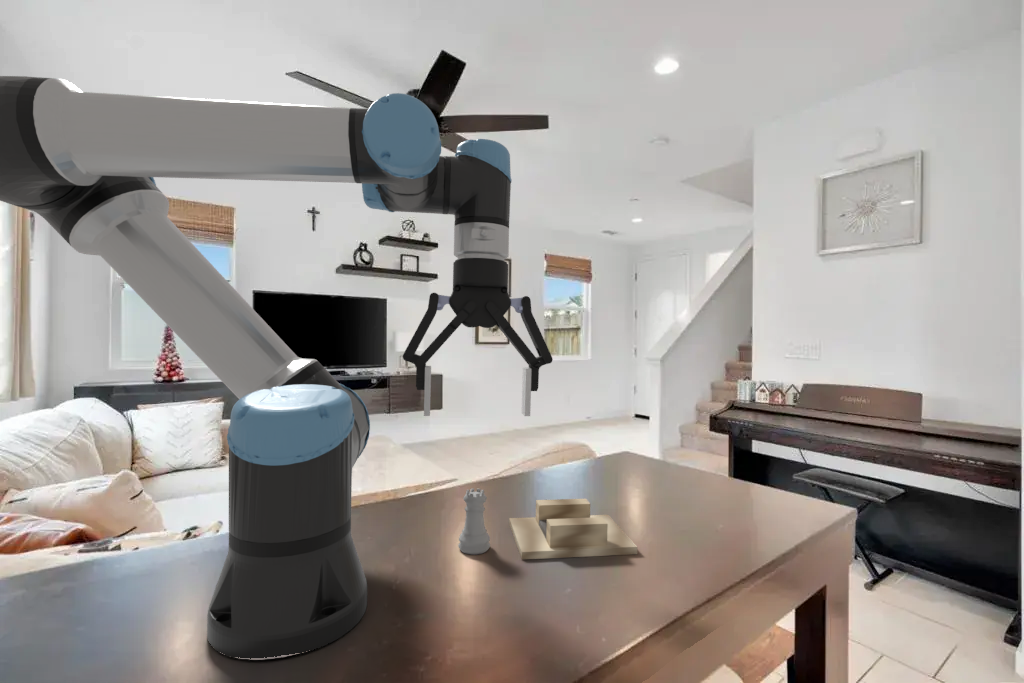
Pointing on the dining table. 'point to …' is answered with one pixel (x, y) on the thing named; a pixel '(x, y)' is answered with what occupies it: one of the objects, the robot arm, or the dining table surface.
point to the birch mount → (568, 532)
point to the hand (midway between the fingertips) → (477, 414)
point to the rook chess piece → (474, 525)
